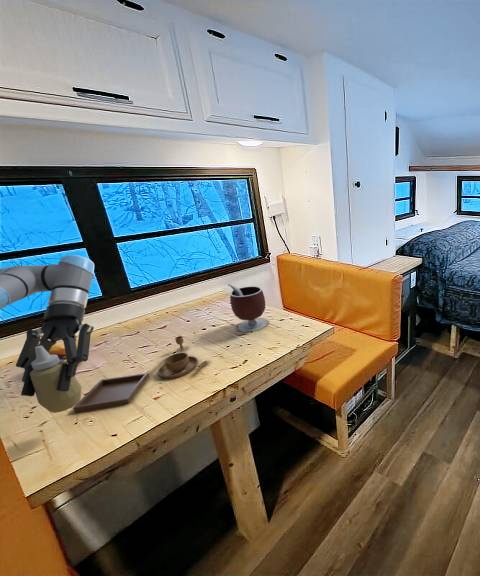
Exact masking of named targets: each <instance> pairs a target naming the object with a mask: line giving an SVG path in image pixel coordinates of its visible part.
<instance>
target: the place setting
mask: <svg viewBox="0 0 480 576" xmlns="http://www.w3.org/2000/svg"><path fill="white" fill-rule="evenodd" d="M174 340H175V343H176V344H177V345H179V349H180V350H179V351H180V352H178V353H174V354H171V355H169V356H167V357H166V358H165V359H164V360H163V361H162V362H164V364H162V365H161V366H160V367H159V368H158V369H157V373H158V375H159V376H160V377H162V378H164V379H175V378H179V377H182V376H185V375H187V374H189V373H191V372H192V371H193V370H195V369H196V368H197V366H198V364H199V359H198V357H196V356H192V355H189V354H188V353H186V352H183V351H185V348H184V346H183V344H184V337H183V336H182V335H178V336H175V338H174ZM207 363H208V361H207V360H204V361H203V362H201V363H200V365H199V368H198V369H197V370H196V371H195V372H194V373H193V375H192V376H193V377H194V376H196V375H197V374H198V372H199V371H200V370H201V368H203V367H205V366H206V365H207ZM166 370H168V371H172V372H179V373H175V374H168V375H167V374H166V375H165V374H164V372H165V371H166ZM180 371H182V372H180Z"/></svg>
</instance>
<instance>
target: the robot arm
mask: <svg viewBox="0 0 480 576" xmlns="http://www.w3.org/2000/svg"><path fill="white" fill-rule="evenodd" d="M94 273H95V263H94V261H92V259H90V258H88V257H85V256H82V255H78V254H77V255H75V254H67V255H65V256H62V257H61V258H60V259H59V261H58V263H57V264H43V265H42V264H39V265H37V264H36V265H21V264H19V265H13V266H4V267H1V268H0V310H2V309H4V308H6V307H7V306H9V305H12V304H13V303H15V302H18V301H21V300H23V299H25V298H27V297H29V296H32V295H34V294H36V293H43V292H44V293H45V292H50V294H49V297H48V301H47V306H46V309H45V313H44V316H43V320H44V323H43V324H42V326H41V327H40V328H36V329H32V328H30V329H27V330H26V339H25V341H24V344H23V346H22V349H21V351H20V353H19V356H18V359H17V360H16V363H15V367H16V368H20V369H24V371H23V375H22V378H21V382H22V383H23V385H22V389H21V393H20V396H23V397H24V396H25V397H35V395H36V393H35V390H34V387H33V383H32V380H31V377H30V373H31V371H32V370H33V367H32V365H31V363H32V362H33V361H34V360H36V351H35V347H37V346H43V347H44V349H45V350H46V351H47V352H49V350H50V349H51V347H52V346H53V345H57V342H59V341H63V346H64V347H65V353H66V358H67V360H66V361H65V362H67V363H68V364H67V363H65V364H63V365H62V369H61V373H60V378H59V382H58V386H57V390H59V391H69V386H70V382H71V377H74V376H75V377H76V373H77V369H78V365H79V364H80V363H82V362H87V361H88V360H89V353H90V344H91V335H92V333H93V331H94V329H95V327H94V325H91V324H89V323H84V324H83V323H82V322H83V321H84V319H85V314H86V313H85V312H86V308H87V304H88V299H89V295H90V289H91V286H92V281H93V278H94V276H95V275H94ZM77 333H78V339H77V336H76V334H77ZM76 344H77V345H78V346H76Z"/></svg>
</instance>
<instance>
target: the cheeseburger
mask: <svg viewBox="0 0 480 576" xmlns="http://www.w3.org/2000/svg"><path fill="white" fill-rule="evenodd" d="M76 346H78V343H76ZM48 353H49V354H50V355H57V356H58V358H59V360H60V361H66V360H67V358H66V353H65V347H64V345H61V344H55V345H53V346H52V347H51V349H50V350H49V352H48ZM66 363H67V362H66ZM67 364H68V363H67Z"/></svg>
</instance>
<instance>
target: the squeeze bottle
mask: <svg viewBox="0 0 480 576" xmlns="http://www.w3.org/2000/svg"><path fill="white" fill-rule="evenodd" d="M35 351H36V360H34V361H33V362H32V363H31V365H32V367H33V370H32V371H31V373H30V377H31V380H32V383H33V387H34V390H35V396H36V399H37V402H38V404H39V405H40V406H41V407H43V408H44V409H46V410H47V411H48V412H50V413H51V414H52V413H54V414H55V413H61V412H65V411H67V410H69V409H73V407H74V406H75V405H77V404H78V403H79V402H80V400H81V399H82V398H81V397H82V388H83V387H82V385H81V383H80V382H79V380H78V379H77V377H76V375H75V376H74V377H71V382H70V386H69V391H59V390H57V386H58V382H59V378H60V373H61V369H62V365H63V364H65V363H66V362H65V361H60V360H59V358H58V356H57V355H50V354H49V353H48V352H47V351H46V350H45V349H44V347H43V346H37V347H35Z"/></svg>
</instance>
